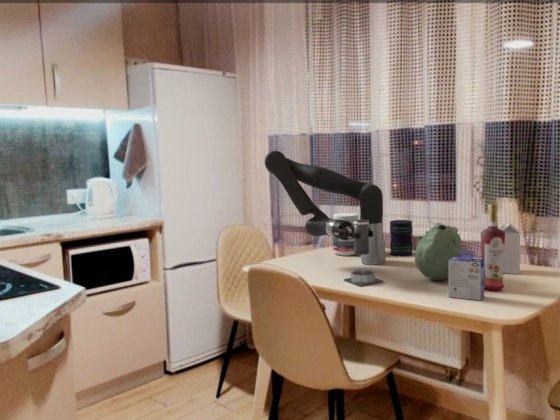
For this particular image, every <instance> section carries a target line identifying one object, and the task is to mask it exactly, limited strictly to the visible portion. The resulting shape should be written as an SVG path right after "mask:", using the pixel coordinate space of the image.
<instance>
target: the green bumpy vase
mask: <svg viewBox="0 0 560 420" xmlns="http://www.w3.org/2000/svg"><path fill="white" fill-rule="evenodd" d="M458 232H459V229H458V227H456V226H450V225H445V224H442V223H441V222H437V223H434V226H433V227H431V228H430V229H429V230H426V231H425V233H424V234H423V235H421V234H420V235H419V236H418V238H417V241H418V242H417V244H416V246H415V252H414V262H415V265H416V267H417V269H418V270H419V271H420V273H421V274H422V275H423V276H424V277H426V278H428V279H430V280H432V281H444V280H449V260H450V259H451V258H452V257H459V258H460V255H461V250H462V251H464V250H463V246H462V238H461V236H460V234H459V233H458Z"/></svg>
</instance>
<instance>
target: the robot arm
mask: <svg viewBox="0 0 560 420" xmlns="http://www.w3.org/2000/svg"><path fill="white" fill-rule="evenodd" d="M264 166H265V169H266V171H268V173H270V174H272V175H274V176H275V178H277V180H278V181H279V182H280V184H281V185H282V186H283V188H284V190H285V192H286V194H287V195H288V197H289V199H290V200H291V202H292V203H293V205H294V207H295V209H297V211H298V213H299V214H300V215H301V216H307V215H310V214H311V215H313V217H311V218H310V219H308V220H307V221H306V222H305V224H304V228H305V232H307V233H308V234H309V235H310V236H313V237H322V236H328V237H331V238H332V239H333V238H337V239H341V240H348V239H350V238H356V239H360V233H359V232H354V226H353V225H352V223H351V222H349V221H346V220H341V219H333V218H330V217H328V215H327V214H326V213H325V212H323V210H321V209H320V208H319V207H318V206H316V204H315V203H314V202H313V201H312V199H311V197H310V196H309V195H308V193H307V192H306V190H305V189H304V188H303V187H302V185H301V184H304V185H307V186H310V187H312V188H313V189H317V190H321V191H323V192H326V193H330V194H331V193H332V194H336V195H341V196H342V195H343V196H347V197H349V198H351V199H355V200H356V201H359V203H360V204H359V212H360V213H359V215H360V217H359V218H360V219H366V220H368V221H369V254H365V255H360V256H361V257H360V258H361V260H360V261H361V264H363V265H372V266H373V265H381V264H383V263H386V240H385V239H384V229H383V228H384V227H383V225H384V224H383V221H384V219H383V217H384V198H383V192H382V190H381V188H380V187H379V186H378V185H377V184H374V183H369V182H363V181H360V180H355V179H352V178H350V177H347V176H346V175H343V174H341V173H339V172H337V171H334V170H331V169H328V168H325V167H322V166H319V165H316V164H315V165H314V164H306V163H301V162H297V161H295V160H292V159H291V158H287V157H286V156H285V154H284V153H283V152H281V151H279V150H272V151H269V152H267V154H266V155H265V158H264ZM300 183H301V184H300Z"/></svg>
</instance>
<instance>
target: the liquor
mask: <svg viewBox="0 0 560 420" xmlns="http://www.w3.org/2000/svg"><path fill="white" fill-rule="evenodd" d="M487 206H488V207H487V208H488V210H487V211H488V224H487V228H486V229H485V228H484V229H482V230H481V232H480V248H481V250H480V251H481V259H484V290H487V291H488V292H489V291H490V292H499V291H501V290H502V289H503V288H504V287H505V285H504V283H503V282H504V273H503V262H504V248H505V232H504V231H502V230H501V229H500V228H499V227H498V215H497V214H498V203H497V204H496V203H495V204H494V203H490V204H489V203H488V205H487Z"/></svg>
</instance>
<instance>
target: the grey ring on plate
mask: <svg viewBox="0 0 560 420" xmlns="http://www.w3.org/2000/svg"><path fill="white" fill-rule="evenodd" d="M343 281H344V282H347V283H349V284H352V285H354V286H357V287H366V286H370V285H376V284H380V283H383V282H384V281H383V280H382V279H379V278H376V272H375V271H373V270H369V269H358V270H357V269H356V270H353V271H351V272H350V277H347V278H344V279H343Z"/></svg>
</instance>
